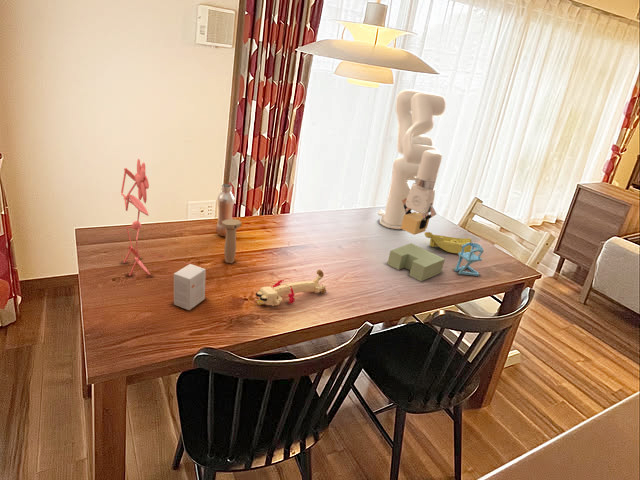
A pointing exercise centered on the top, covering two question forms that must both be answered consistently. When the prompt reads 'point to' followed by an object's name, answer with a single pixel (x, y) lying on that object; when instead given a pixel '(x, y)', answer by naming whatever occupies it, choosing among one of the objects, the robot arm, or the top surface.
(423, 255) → the notch pad
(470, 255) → the chair
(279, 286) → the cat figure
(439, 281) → the top surface
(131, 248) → the figurine
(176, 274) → the small box
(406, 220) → the tan rectangular block
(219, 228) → the plastic bottle
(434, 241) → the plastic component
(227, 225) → the handle
